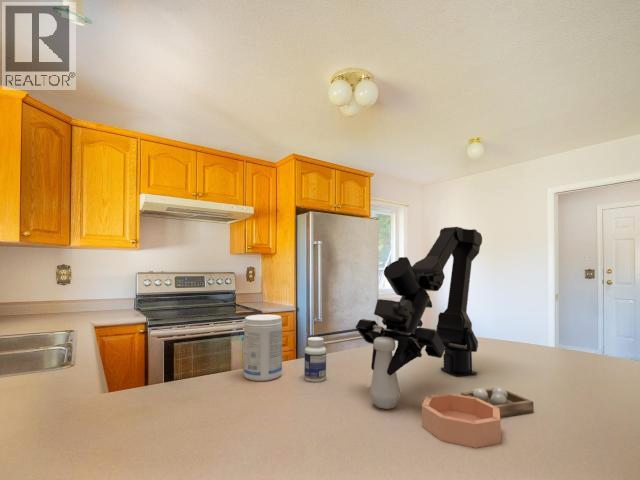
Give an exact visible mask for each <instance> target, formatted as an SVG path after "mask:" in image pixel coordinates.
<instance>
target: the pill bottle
mask: <svg viewBox="0 0 640 480" xmlns="http://www.w3.org/2000/svg"><path fill="white" fill-rule="evenodd" d="M324 343H325V340H324V337H321V336H320V337H319V336H311V337H308V338H307V345H308V346H306V347H305V349H304V368H303V369H304V373H303V374H304V379H305V381H308V382H312V383H313V382H314V383H317V382H318V383H319V382H323V381H325V380H326V379H327V348H326V347H325V346H324Z"/></svg>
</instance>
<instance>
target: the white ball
mask: <svg viewBox="0 0 640 480" xmlns="http://www.w3.org/2000/svg"><path fill="white" fill-rule="evenodd" d="M492 389H493V388H492ZM506 391H507V390H506V389H505V388H504V387H502V386H494V389H493V390H492V394H494V393H501V394H503V395H504V396H505V397H506V399H507V397H508V394H507V392H506Z"/></svg>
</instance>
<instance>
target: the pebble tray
mask: <svg viewBox="0 0 640 480" xmlns="http://www.w3.org/2000/svg"><path fill="white" fill-rule="evenodd" d="M494 388H495V387H494ZM494 388H484V390H486V392H487V393H488V400H487V401H486V402H487V403H489V404H491V405H493V404H492V403H491V396H492V390H493V389H494ZM473 391H474V390H471V391H465V392H464V391H463V392H460V395H463V396H470V397H473ZM506 392H507V394H508V397H507V399H506V400H507V404H501V405H494V406H495V407H497V408H499V411H500V419H504V418H509V417H514V416H515V417H516V416H522V415H526V414H533V413H535V412H534V411H535V409H534V401H533V400H530V399H528V398H526V397H523V396H520V395H519V394H517V393H513V392H510V391H508V390H506Z"/></svg>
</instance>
